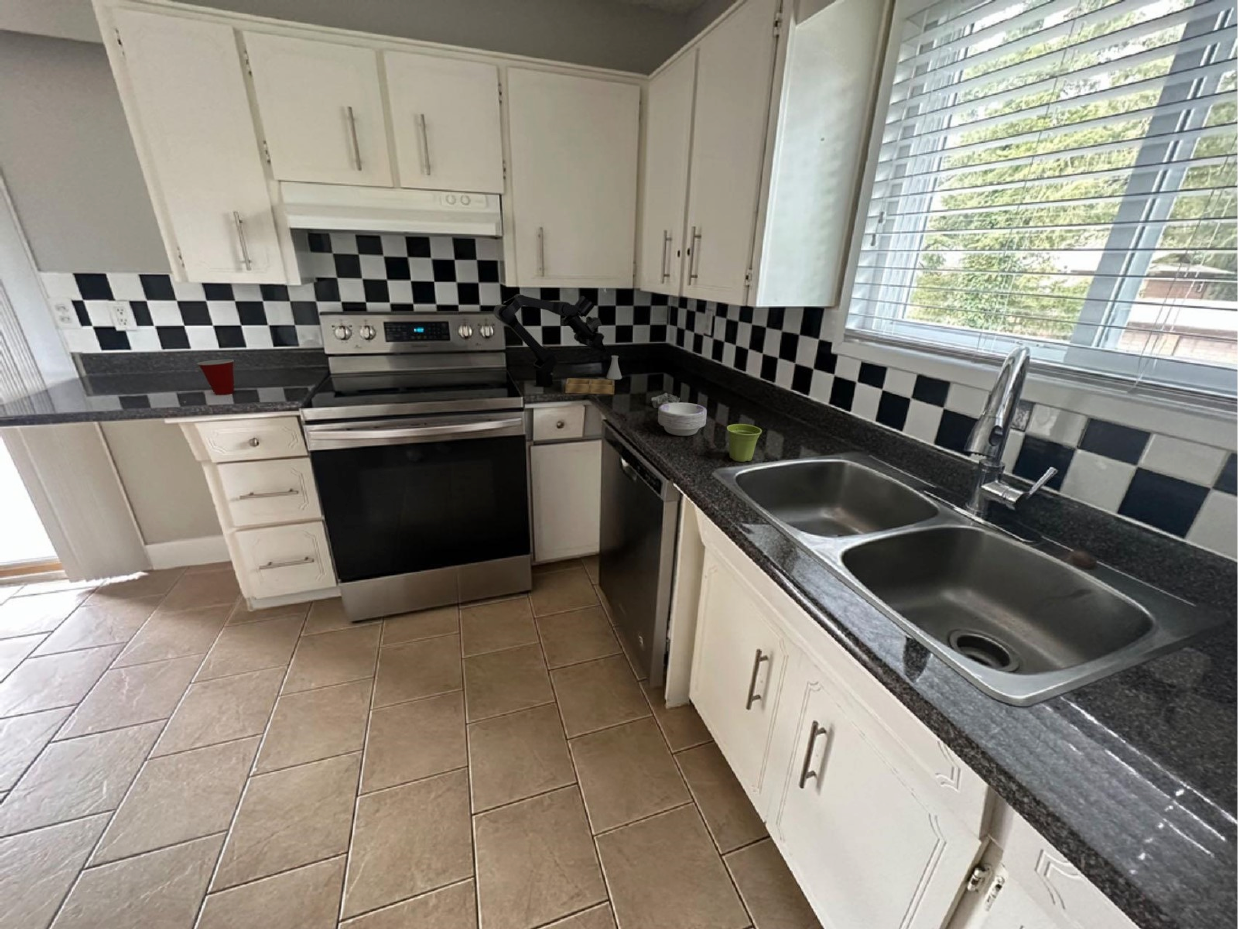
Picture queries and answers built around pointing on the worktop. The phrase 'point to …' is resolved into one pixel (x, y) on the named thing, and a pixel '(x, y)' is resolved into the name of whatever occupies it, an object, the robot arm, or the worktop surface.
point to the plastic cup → (219, 375)
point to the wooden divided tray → (589, 386)
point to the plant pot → (742, 441)
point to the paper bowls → (682, 418)
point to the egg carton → (664, 400)
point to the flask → (614, 369)
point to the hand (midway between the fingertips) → (600, 350)
